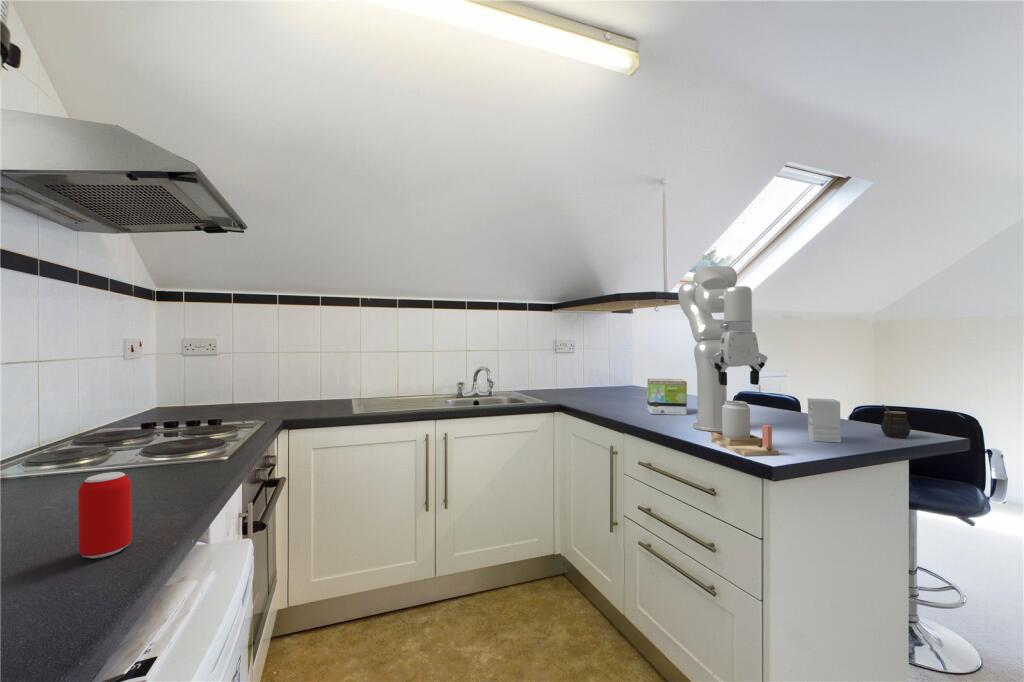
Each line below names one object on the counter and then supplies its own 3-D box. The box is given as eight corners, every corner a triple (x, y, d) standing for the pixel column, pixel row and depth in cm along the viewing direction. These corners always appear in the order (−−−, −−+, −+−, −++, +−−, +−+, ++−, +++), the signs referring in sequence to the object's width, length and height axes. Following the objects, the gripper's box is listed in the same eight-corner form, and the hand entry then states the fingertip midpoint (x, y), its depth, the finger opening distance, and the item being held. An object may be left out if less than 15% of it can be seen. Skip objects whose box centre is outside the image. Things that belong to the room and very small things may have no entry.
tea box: (650, 414, 187) (650, 380, 187) (647, 411, 197) (646, 378, 197) (687, 415, 185) (686, 380, 185) (682, 411, 195) (681, 378, 195)
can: (745, 438, 135) (745, 400, 135) (754, 444, 128) (753, 403, 128) (719, 438, 137) (719, 399, 137) (726, 443, 129) (725, 403, 129)
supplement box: (835, 438, 140) (834, 398, 140) (841, 443, 133) (840, 401, 133) (807, 436, 143) (807, 397, 143) (812, 441, 136) (811, 400, 136)
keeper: (762, 424, 124) (766, 424, 124) (762, 446, 124) (766, 446, 124) (767, 426, 121) (771, 426, 122) (768, 448, 121) (772, 448, 122)
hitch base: (711, 441, 137) (711, 432, 137) (741, 440, 138) (741, 431, 138) (743, 456, 120) (743, 445, 120) (778, 455, 121) (778, 444, 121)
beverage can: (70, 565, 65) (69, 484, 65) (89, 547, 71) (88, 473, 71) (123, 556, 68) (122, 478, 68) (137, 539, 73) (136, 468, 73)
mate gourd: (902, 440, 136) (901, 408, 136) (874, 435, 143) (874, 405, 143) (916, 437, 138) (915, 406, 139) (888, 433, 146) (887, 403, 146)
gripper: (716, 327, 127) (717, 386, 127) (774, 327, 128) (774, 385, 128) (703, 328, 135) (704, 384, 135) (758, 328, 136) (759, 383, 136)
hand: (738, 384), depth 131 cm, fingers open, 9 cm apart
